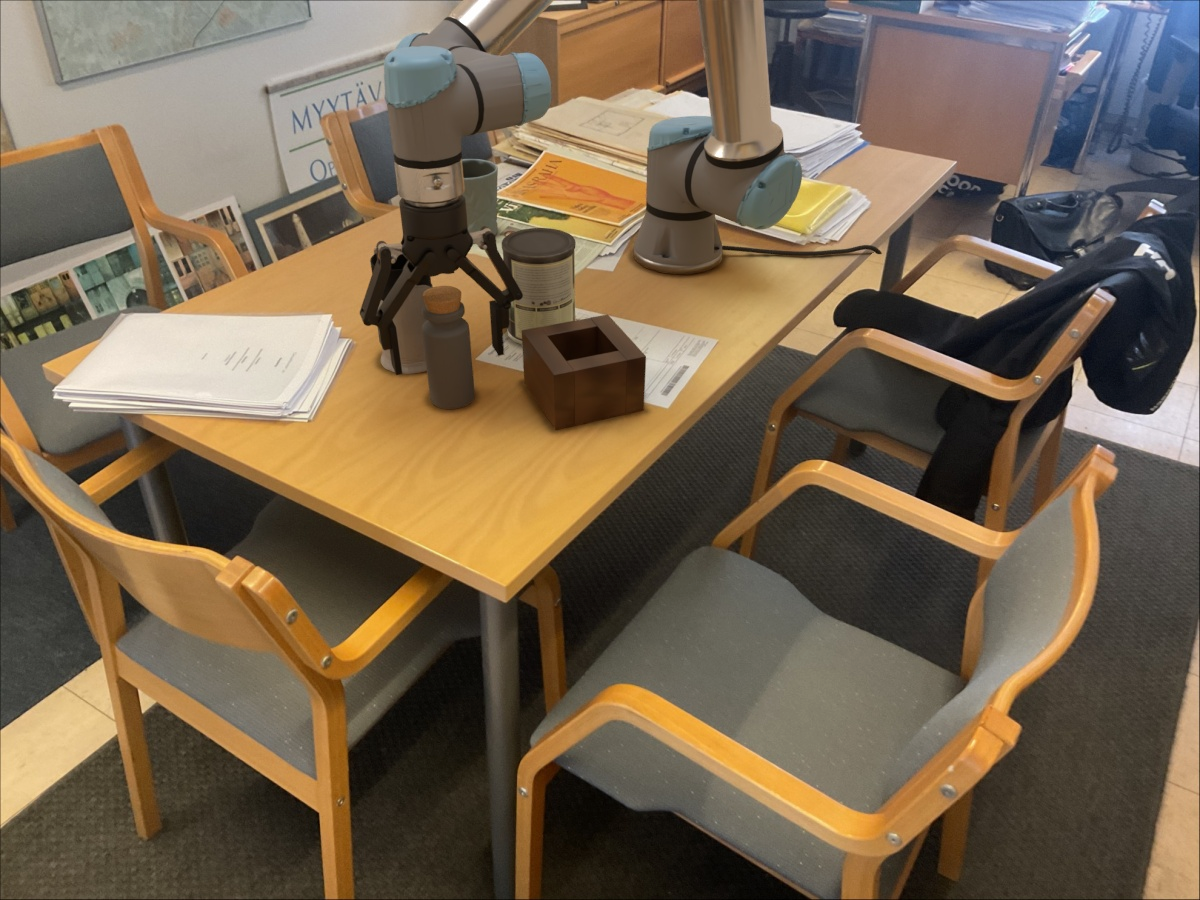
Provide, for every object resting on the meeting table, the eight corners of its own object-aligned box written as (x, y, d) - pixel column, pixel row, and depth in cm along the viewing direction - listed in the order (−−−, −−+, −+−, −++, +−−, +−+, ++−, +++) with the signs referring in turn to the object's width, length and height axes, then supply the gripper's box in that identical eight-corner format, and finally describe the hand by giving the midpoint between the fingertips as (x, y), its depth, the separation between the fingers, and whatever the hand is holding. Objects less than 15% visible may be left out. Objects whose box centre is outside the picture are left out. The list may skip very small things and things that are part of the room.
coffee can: (492, 330, 133) (486, 240, 125) (544, 309, 139) (541, 221, 131) (538, 355, 127) (535, 262, 119) (590, 331, 133) (590, 241, 125)
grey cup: (506, 224, 167) (502, 160, 160) (494, 245, 159) (490, 179, 152) (453, 221, 168) (447, 157, 161) (438, 242, 160) (432, 176, 153)
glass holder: (394, 379, 122) (379, 277, 113) (358, 337, 131) (341, 239, 123) (453, 363, 125) (443, 262, 117) (414, 322, 135) (402, 227, 126)
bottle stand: (607, 365, 125) (607, 314, 120) (643, 410, 116) (646, 356, 111) (524, 382, 121) (521, 330, 117) (555, 430, 112) (553, 374, 108)
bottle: (436, 413, 115) (424, 307, 106) (425, 391, 119) (412, 287, 111) (480, 404, 117) (472, 299, 108) (467, 382, 121) (458, 280, 112)
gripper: (326, 222, 96) (356, 393, 108) (545, 193, 103) (549, 355, 116) (316, 198, 101) (345, 363, 114) (524, 173, 109) (530, 330, 121)
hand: (448, 360), depth 115 cm, fingers open, 12 cm apart
